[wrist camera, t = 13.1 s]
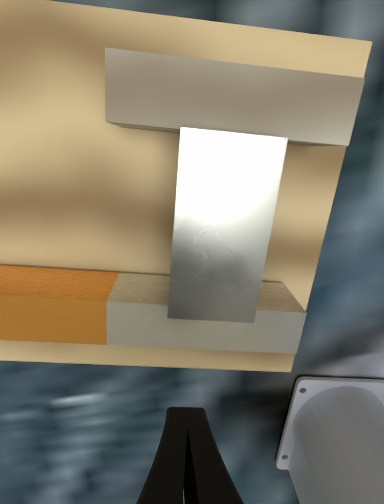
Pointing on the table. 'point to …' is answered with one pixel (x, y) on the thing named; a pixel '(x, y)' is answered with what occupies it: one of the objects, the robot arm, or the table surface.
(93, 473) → the table surface
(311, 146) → the base
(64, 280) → the block
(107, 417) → the table surface
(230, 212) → the steel block
